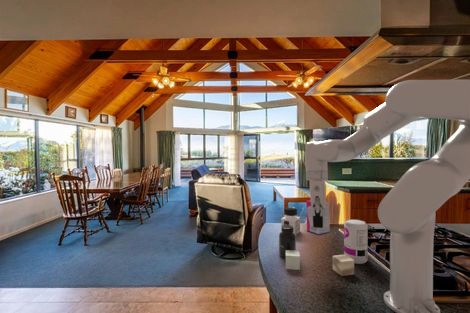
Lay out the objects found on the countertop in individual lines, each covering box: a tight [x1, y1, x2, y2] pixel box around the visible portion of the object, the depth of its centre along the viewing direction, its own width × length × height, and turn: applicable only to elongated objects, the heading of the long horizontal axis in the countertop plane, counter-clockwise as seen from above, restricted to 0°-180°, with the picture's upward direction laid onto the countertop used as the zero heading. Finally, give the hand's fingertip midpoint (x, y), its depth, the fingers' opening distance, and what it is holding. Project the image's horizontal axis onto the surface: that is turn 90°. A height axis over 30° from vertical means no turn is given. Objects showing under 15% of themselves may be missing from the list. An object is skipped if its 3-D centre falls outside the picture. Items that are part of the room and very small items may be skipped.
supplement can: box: [343, 218, 368, 265], centre depth 97 cm, size 8×8×15 cm
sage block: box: [285, 250, 301, 271], centre depth 92 cm, size 5×5×5 cm
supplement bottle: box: [278, 225, 297, 259], centre depth 102 cm, size 7×7×12 cm
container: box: [280, 206, 301, 236], centre depth 130 cm, size 8×8×13 cm
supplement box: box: [305, 199, 331, 236], centre depth 90 cm, size 6×6×12 cm
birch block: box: [332, 253, 355, 277], centre depth 88 cm, size 5×5×5 cm
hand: (318, 223), depth 90 cm, fingers closed on supplement box, 8 cm apart
